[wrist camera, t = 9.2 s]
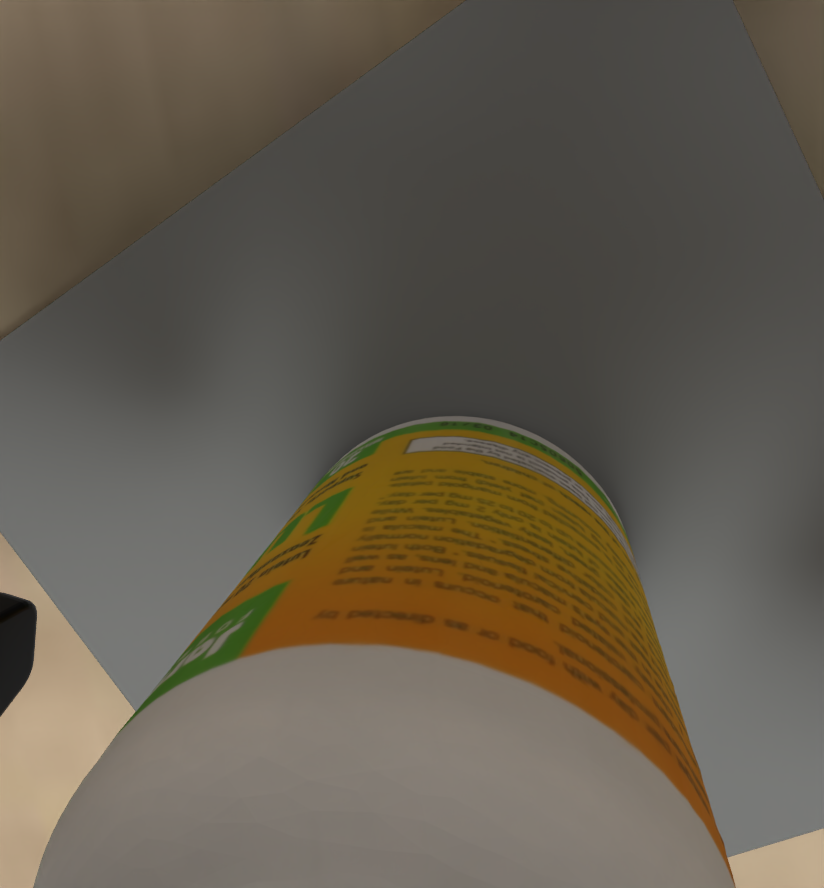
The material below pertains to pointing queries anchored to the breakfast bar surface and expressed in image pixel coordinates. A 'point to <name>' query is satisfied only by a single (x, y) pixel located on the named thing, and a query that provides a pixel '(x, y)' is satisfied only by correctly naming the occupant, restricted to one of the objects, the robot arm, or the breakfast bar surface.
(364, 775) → the supplement bottle
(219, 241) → the slate mat
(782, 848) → the breakfast bar surface
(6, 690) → the robot arm
